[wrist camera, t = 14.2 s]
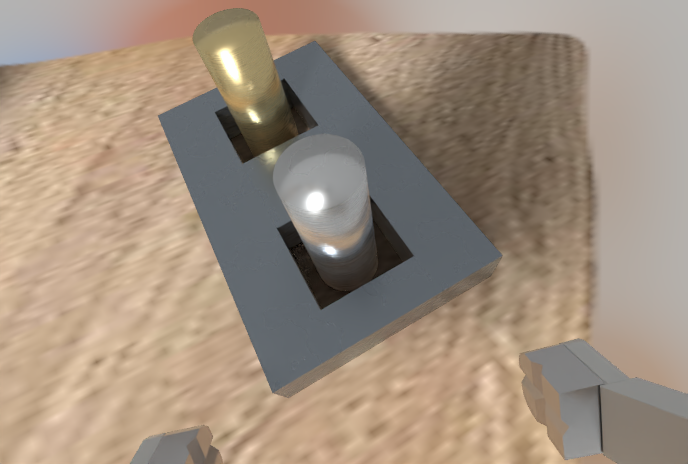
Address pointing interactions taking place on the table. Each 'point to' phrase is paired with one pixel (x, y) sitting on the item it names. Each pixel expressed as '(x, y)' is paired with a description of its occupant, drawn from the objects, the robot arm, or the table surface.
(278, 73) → the bolt plate
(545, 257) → the table surface
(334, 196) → the steel peg
